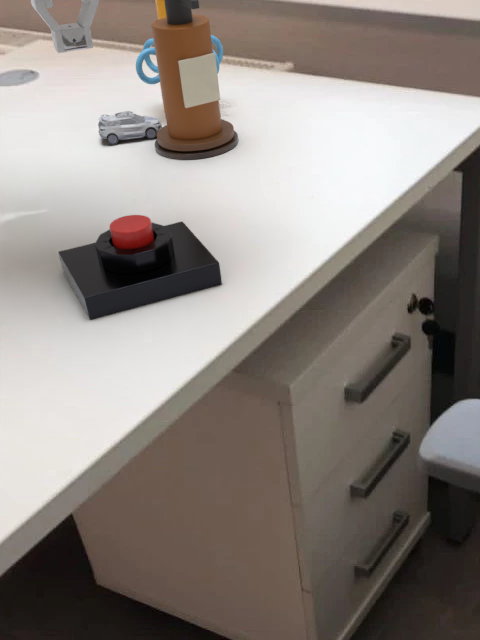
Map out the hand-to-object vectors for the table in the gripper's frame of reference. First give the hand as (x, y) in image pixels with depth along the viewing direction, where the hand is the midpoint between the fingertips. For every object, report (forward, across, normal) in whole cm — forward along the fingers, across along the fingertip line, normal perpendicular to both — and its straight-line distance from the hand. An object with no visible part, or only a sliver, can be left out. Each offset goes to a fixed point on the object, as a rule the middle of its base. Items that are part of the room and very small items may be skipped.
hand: (74, 49), depth 73 cm
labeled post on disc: (+18, -17, -23) cm, 34 cm away
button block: (+18, -1, +7) cm, 19 cm away
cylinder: (+19, -20, -35) cm, 44 cm away
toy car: (+19, -10, -30) cm, 37 cm away
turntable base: (+18, -17, -23) cm, 34 cm away
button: (+15, -1, +7) cm, 16 cm away
